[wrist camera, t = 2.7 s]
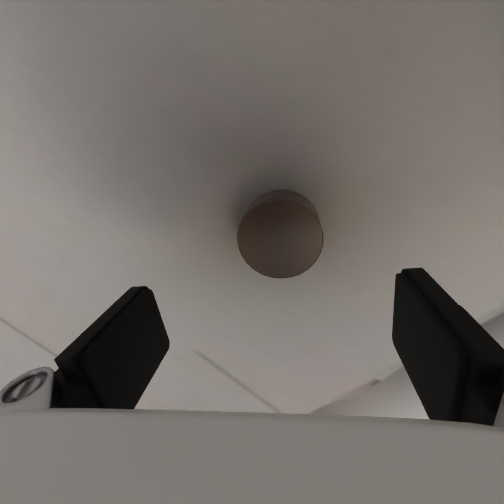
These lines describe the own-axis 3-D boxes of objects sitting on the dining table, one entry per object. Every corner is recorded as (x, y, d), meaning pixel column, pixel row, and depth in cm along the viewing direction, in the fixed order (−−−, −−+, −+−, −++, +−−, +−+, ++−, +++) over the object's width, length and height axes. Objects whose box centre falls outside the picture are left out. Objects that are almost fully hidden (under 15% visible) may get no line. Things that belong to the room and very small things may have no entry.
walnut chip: (317, 184, 16) (321, 193, 14) (321, 258, 18) (325, 276, 16) (238, 194, 17) (230, 204, 15) (250, 263, 19) (244, 281, 17)
